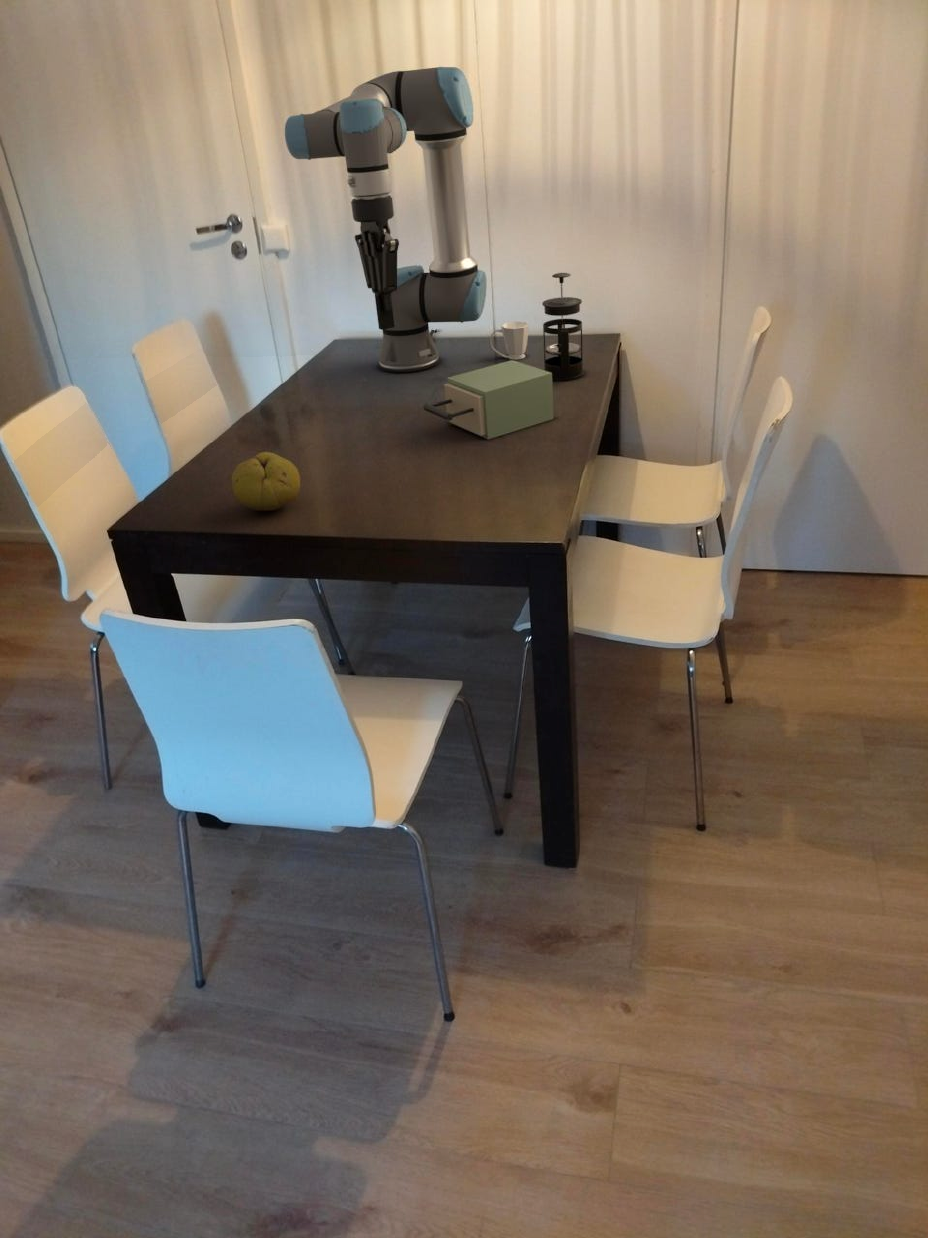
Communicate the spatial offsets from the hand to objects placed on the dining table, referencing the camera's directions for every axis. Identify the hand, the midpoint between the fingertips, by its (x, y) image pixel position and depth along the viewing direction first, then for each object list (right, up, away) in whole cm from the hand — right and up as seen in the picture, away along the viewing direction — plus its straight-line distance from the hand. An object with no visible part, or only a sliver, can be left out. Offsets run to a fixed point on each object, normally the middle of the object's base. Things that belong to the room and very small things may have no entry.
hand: (386, 327), depth 182 cm
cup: (+27, +10, +56) cm, 63 cm away
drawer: (+19, -16, +12) cm, 28 cm away
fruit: (-19, -37, -15) cm, 44 cm away
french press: (+39, +1, +39) cm, 55 cm away
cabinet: (+23, -15, +15) cm, 31 cm away
